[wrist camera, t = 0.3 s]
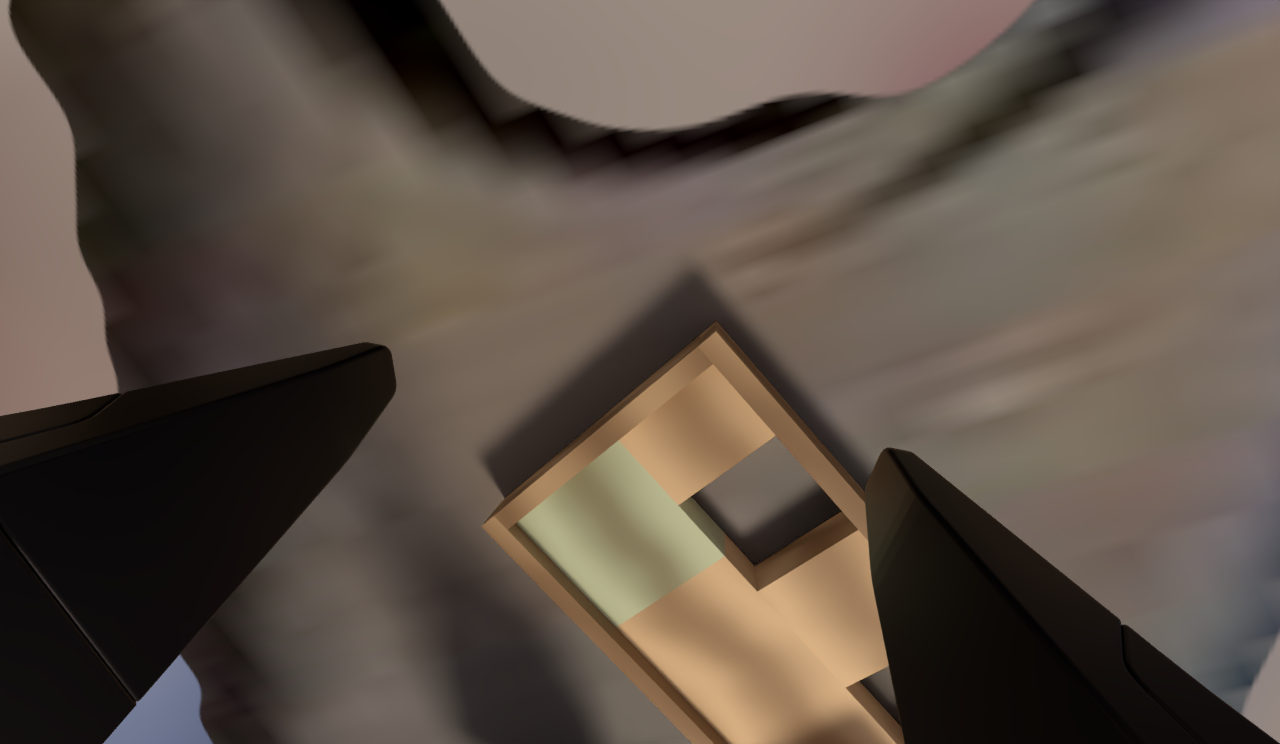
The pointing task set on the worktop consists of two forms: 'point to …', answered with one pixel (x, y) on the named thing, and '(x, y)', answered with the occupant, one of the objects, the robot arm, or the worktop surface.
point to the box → (707, 562)
